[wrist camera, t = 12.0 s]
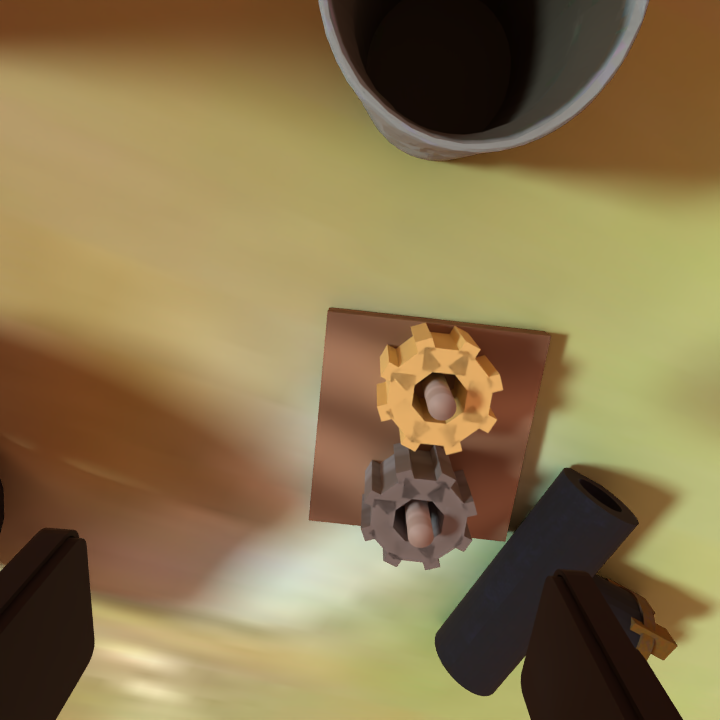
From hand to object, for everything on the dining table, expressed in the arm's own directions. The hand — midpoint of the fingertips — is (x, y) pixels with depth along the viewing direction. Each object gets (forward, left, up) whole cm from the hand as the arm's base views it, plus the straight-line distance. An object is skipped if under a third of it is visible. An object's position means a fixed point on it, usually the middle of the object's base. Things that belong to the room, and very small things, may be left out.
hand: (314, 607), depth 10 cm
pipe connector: (+16, +16, -22) cm, 31 cm away
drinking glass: (-15, +3, -22) cm, 26 cm away
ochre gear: (+1, +5, -20) cm, 21 cm away
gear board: (+5, +5, -21) cm, 22 cm away
